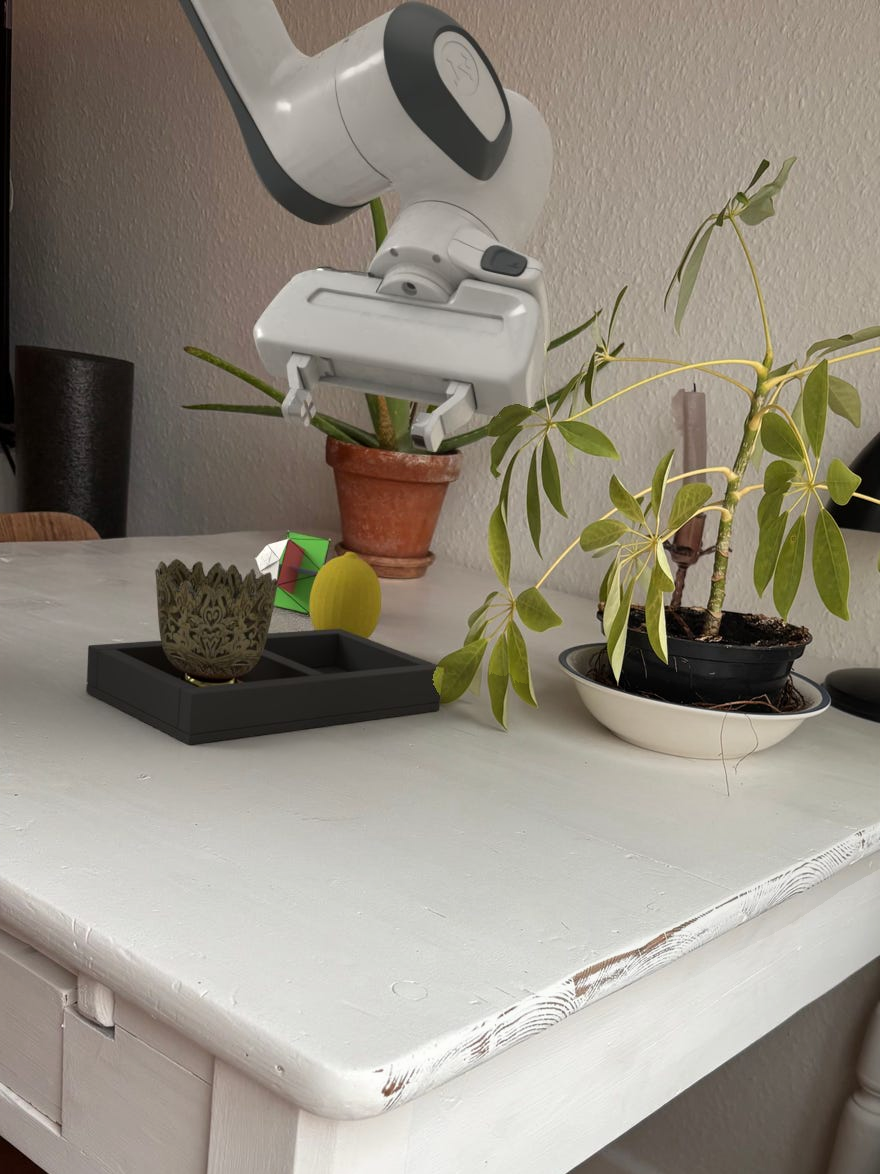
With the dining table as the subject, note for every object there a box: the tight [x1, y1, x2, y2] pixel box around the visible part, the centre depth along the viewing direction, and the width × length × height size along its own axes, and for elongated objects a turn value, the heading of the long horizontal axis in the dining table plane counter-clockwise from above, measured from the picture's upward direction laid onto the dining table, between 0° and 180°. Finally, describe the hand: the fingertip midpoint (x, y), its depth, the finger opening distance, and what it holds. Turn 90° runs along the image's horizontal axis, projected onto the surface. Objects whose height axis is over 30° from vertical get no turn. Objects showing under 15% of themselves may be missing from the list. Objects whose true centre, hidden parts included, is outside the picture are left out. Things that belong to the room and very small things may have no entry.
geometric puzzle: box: [254, 530, 335, 616], centre depth 113 cm, size 7×7×8 cm
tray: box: [86, 629, 442, 746], centre depth 85 cm, size 11×21×3 cm, turn 137°
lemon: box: [309, 551, 382, 639], centre depth 100 cm, size 6×6×8 cm
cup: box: [154, 558, 277, 687], centre depth 80 cm, size 8×7×8 cm
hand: (356, 431), depth 85 cm, fingers open, 8 cm apart
